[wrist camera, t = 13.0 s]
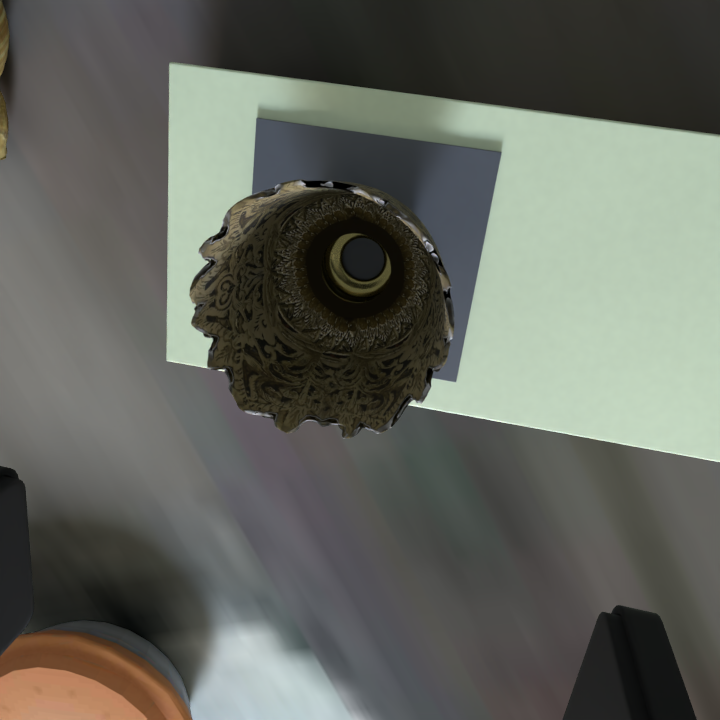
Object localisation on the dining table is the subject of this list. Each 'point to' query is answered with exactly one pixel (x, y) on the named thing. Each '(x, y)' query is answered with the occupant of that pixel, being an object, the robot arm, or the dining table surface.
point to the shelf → (491, 242)
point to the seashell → (0, 55)
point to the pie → (89, 676)
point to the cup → (323, 307)
